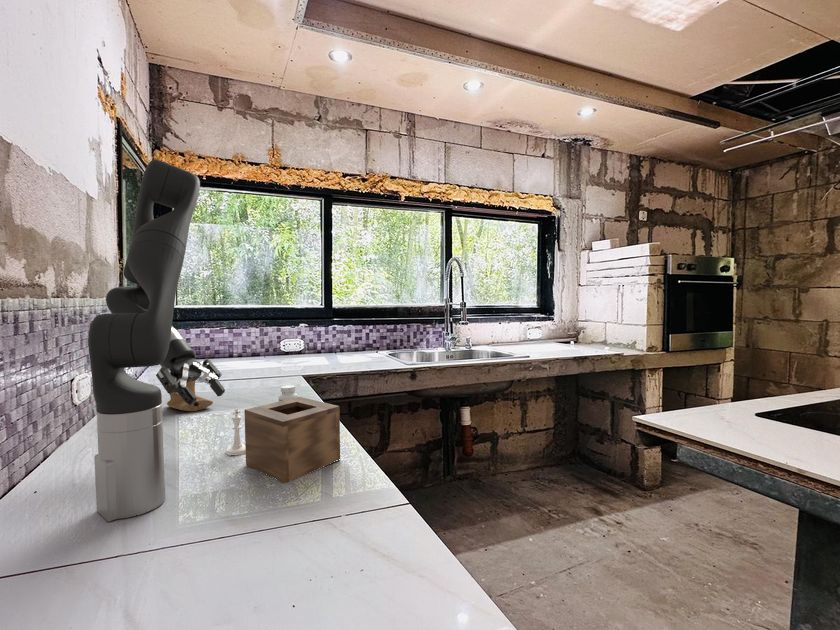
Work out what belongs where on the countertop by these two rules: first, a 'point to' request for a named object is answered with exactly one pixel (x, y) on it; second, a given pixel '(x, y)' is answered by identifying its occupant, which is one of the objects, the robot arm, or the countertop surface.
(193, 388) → the tan fabric boot shape
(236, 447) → the chess piece
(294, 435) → the walnut box
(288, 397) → the supplement bottle
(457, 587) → the countertop surface
